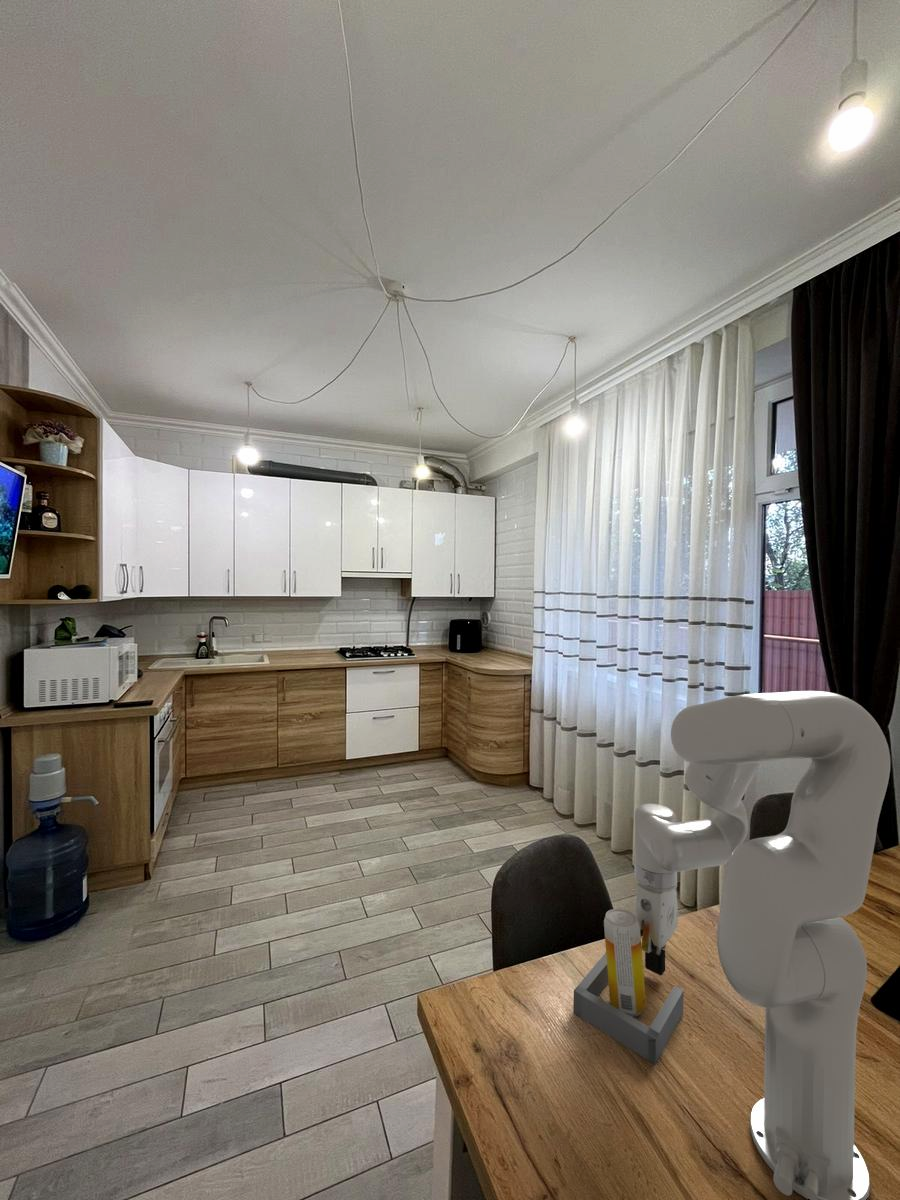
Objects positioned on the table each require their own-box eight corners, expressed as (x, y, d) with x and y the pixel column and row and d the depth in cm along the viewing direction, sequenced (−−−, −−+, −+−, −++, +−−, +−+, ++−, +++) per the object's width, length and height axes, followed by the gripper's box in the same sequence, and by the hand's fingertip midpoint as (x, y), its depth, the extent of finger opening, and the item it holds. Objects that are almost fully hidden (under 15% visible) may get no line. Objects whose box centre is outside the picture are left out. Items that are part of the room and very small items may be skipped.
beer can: (643, 995, 90) (636, 908, 91) (649, 1020, 84) (641, 927, 85) (608, 992, 91) (602, 906, 92) (611, 1016, 85) (604, 925, 87)
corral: (655, 1065, 77) (655, 1039, 77) (573, 1013, 86) (573, 990, 86) (683, 1013, 87) (683, 990, 87) (606, 971, 96) (606, 951, 96)
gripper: (661, 898, 87) (661, 1004, 86) (688, 865, 98) (688, 958, 98) (620, 881, 92) (619, 981, 92) (650, 851, 103) (649, 941, 103)
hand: (655, 969), depth 95 cm, fingers closed
